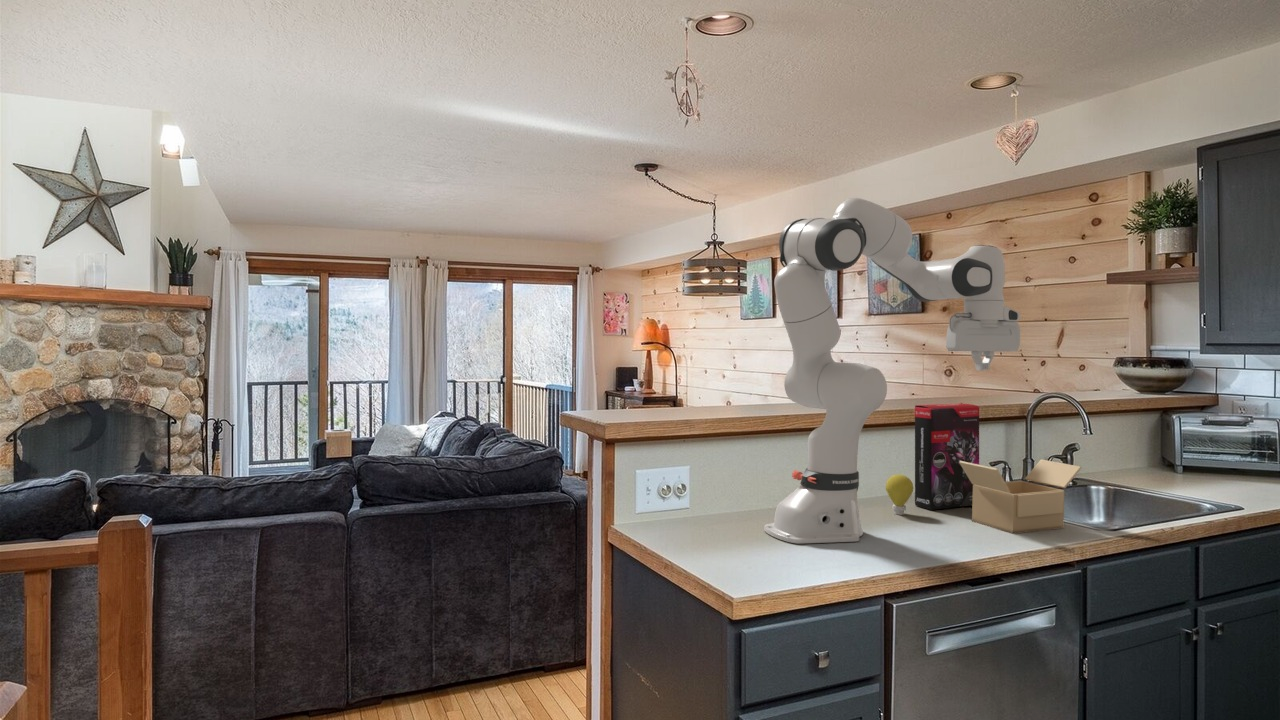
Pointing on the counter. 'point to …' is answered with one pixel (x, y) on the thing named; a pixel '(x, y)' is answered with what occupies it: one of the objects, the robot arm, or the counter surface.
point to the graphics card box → (945, 454)
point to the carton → (1019, 507)
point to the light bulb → (899, 492)
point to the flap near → (984, 476)
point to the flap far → (1053, 473)
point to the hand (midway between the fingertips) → (982, 370)
